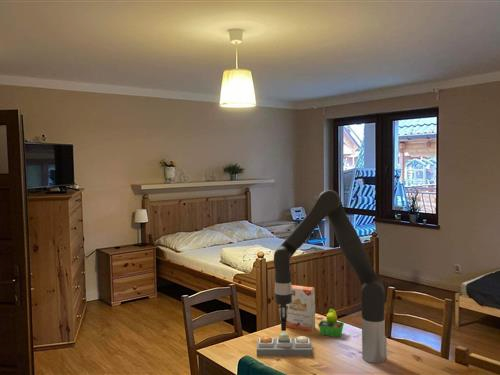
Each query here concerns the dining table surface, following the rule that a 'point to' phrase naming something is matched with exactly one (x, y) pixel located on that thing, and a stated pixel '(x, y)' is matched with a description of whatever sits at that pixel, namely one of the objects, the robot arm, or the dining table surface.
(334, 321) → the fruit basket
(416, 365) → the dining table surface
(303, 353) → the control panel
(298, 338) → the cream button
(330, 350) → the dining table surface
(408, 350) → the dining table surface
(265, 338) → the orange button
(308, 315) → the cracker box
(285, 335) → the sage button
